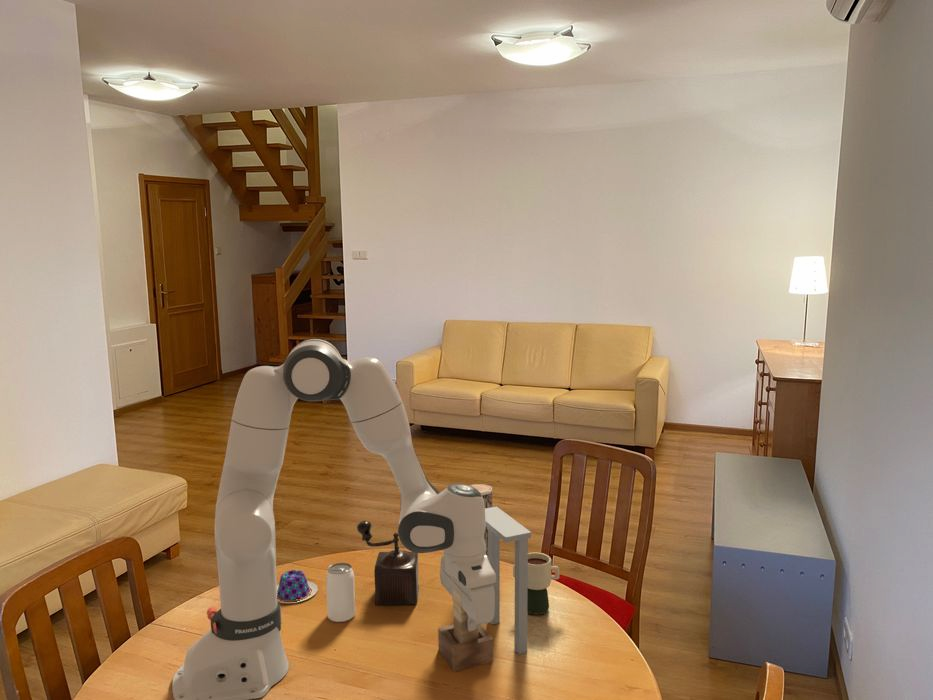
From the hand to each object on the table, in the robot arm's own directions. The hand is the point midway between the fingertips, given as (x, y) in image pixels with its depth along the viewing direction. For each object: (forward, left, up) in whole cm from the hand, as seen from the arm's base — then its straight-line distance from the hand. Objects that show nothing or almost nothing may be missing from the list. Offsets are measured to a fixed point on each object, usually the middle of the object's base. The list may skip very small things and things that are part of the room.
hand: (465, 622), depth 148 cm
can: (-20, +27, -8) cm, 34 cm away
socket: (0, 0, -7) cm, 7 cm away
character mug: (+23, +10, -8) cm, 26 cm away
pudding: (-28, +43, -8) cm, 52 cm away
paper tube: (+17, +29, -8) cm, 34 cm away
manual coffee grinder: (-7, +32, -8) cm, 34 cm away
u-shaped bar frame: (+10, +3, -7) cm, 13 cm away
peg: (0, 0, -5) cm, 5 cm away
